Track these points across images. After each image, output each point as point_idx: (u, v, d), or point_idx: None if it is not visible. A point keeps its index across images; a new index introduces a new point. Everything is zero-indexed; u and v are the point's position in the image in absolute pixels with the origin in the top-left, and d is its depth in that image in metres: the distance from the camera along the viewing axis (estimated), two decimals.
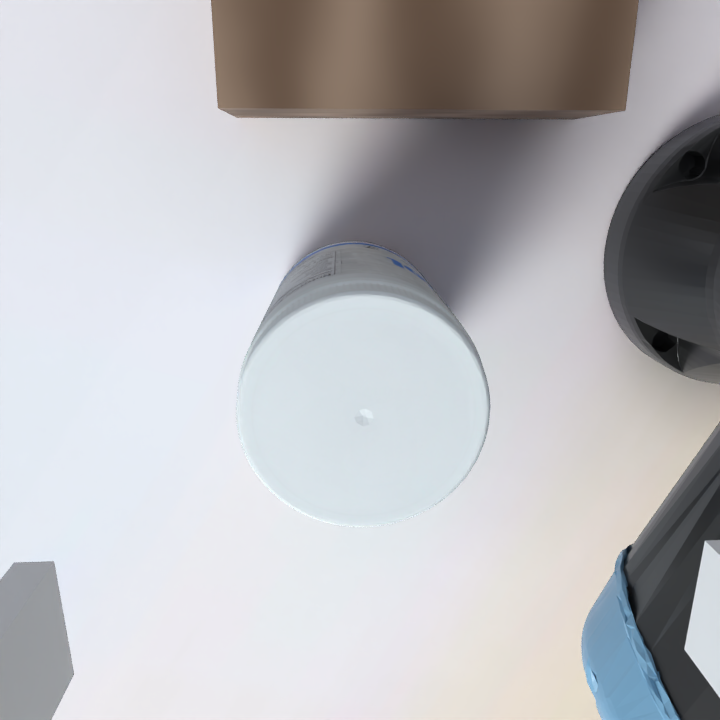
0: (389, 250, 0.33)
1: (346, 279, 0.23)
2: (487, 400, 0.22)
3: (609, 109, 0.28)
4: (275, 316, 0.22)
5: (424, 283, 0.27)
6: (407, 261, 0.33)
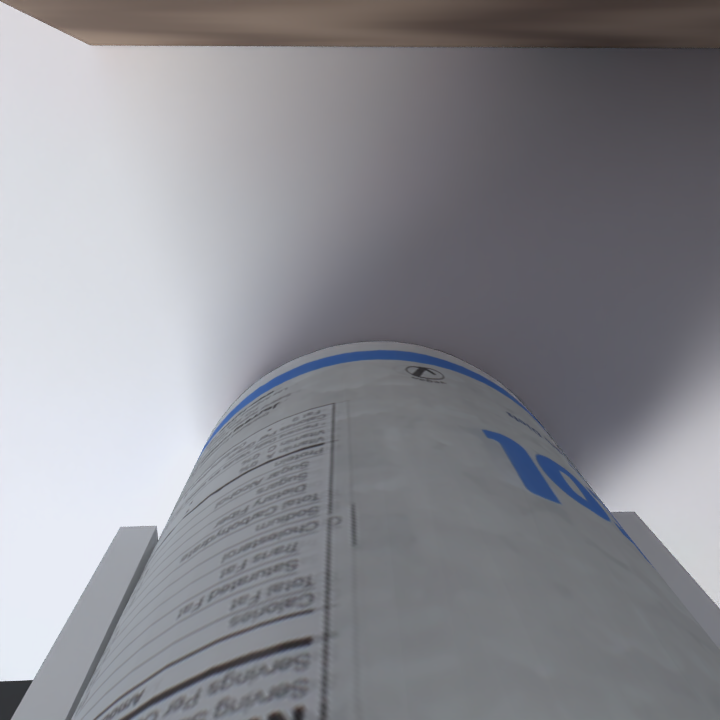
0: (464, 367, 0.14)
1: None
2: None
3: None
4: None
5: (649, 581, 0.08)
6: (508, 395, 0.14)
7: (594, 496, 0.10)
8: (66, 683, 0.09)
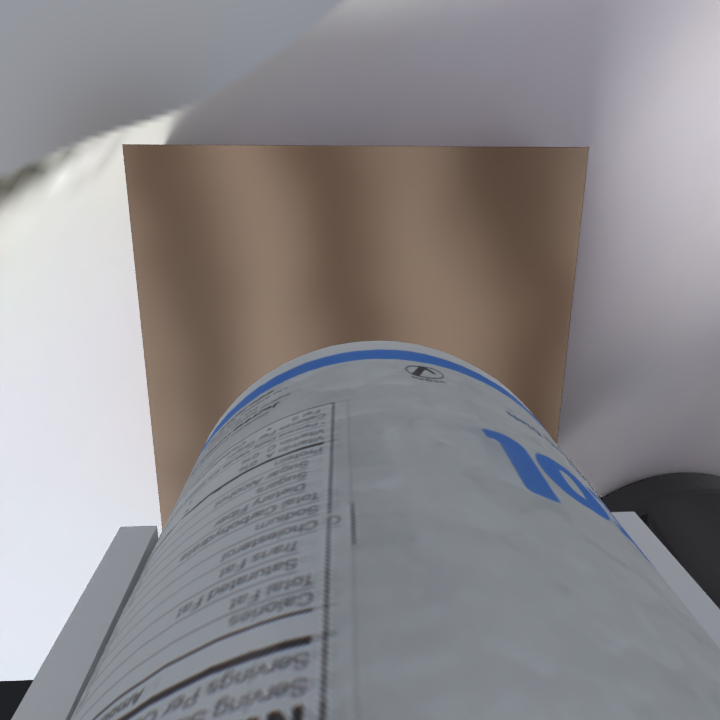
0: (463, 367, 0.14)
1: None
2: None
3: None
4: None
5: (649, 580, 0.08)
6: (508, 394, 0.14)
7: (594, 495, 0.10)
8: (67, 683, 0.09)
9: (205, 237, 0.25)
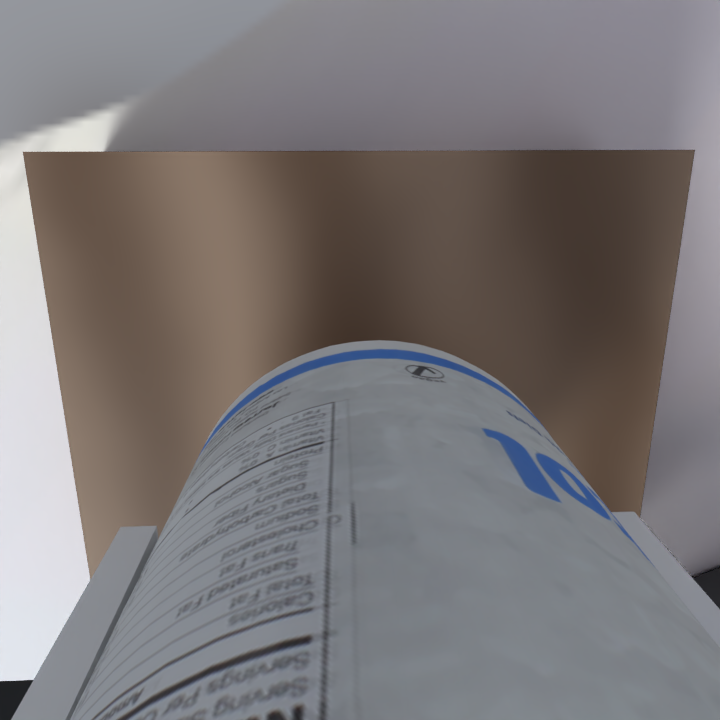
0: (464, 366, 0.14)
1: None
2: None
3: None
4: None
5: (650, 580, 0.08)
6: (508, 394, 0.14)
7: (594, 495, 0.10)
8: (67, 683, 0.09)
9: (148, 282, 0.17)
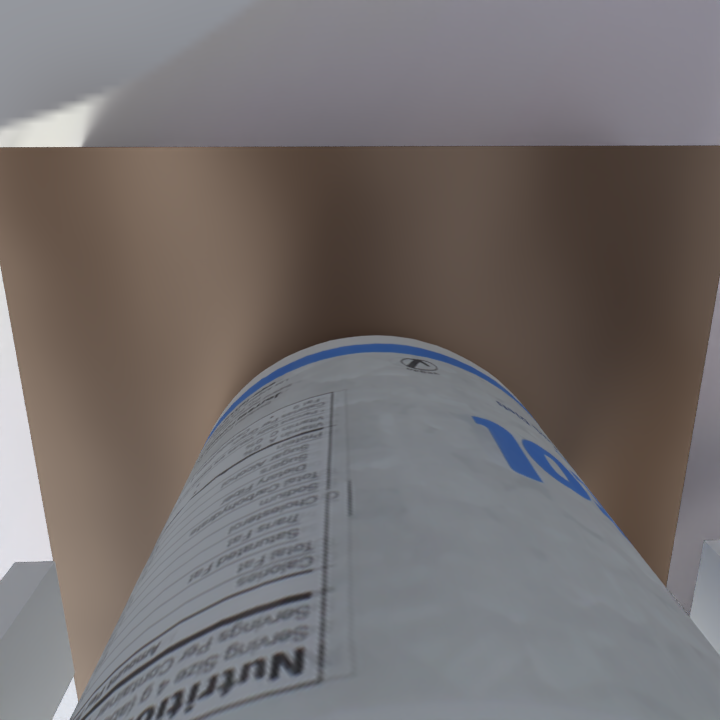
0: (457, 360, 0.15)
1: None
2: None
3: None
4: None
5: (623, 552, 0.08)
6: (499, 386, 0.14)
7: (577, 479, 0.11)
8: None
9: (124, 295, 0.15)
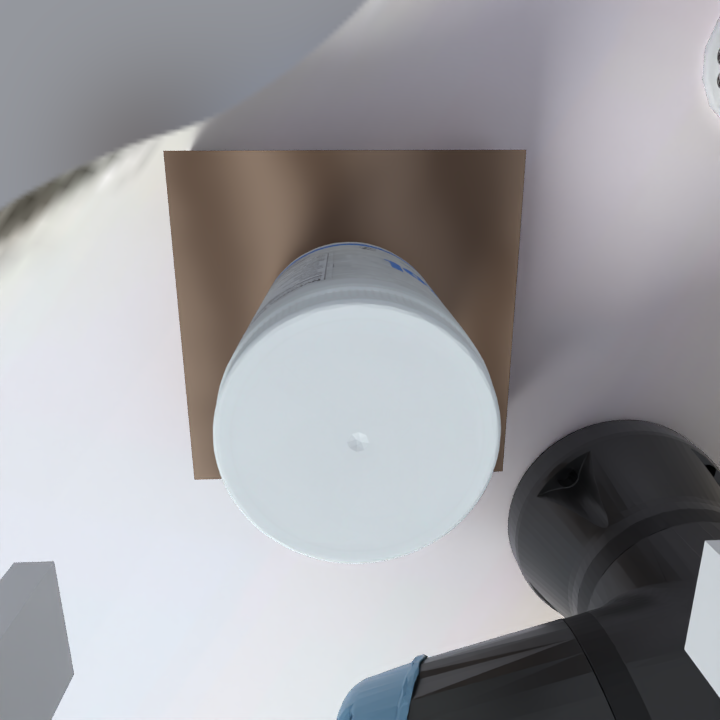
0: (387, 251, 0.31)
1: (337, 285, 0.20)
2: (497, 421, 0.20)
3: None
4: (256, 328, 0.20)
5: (425, 288, 0.24)
6: (407, 263, 0.31)
7: (427, 285, 0.27)
8: None
9: (227, 223, 0.32)
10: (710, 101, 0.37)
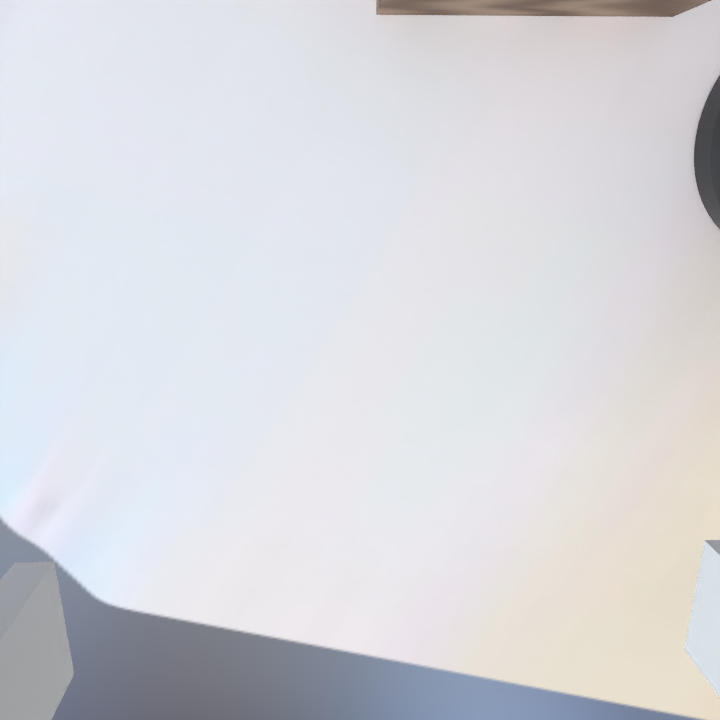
0: None
1: None
2: None
3: None
4: None
5: None
6: None
7: None
8: None
9: None
10: None
